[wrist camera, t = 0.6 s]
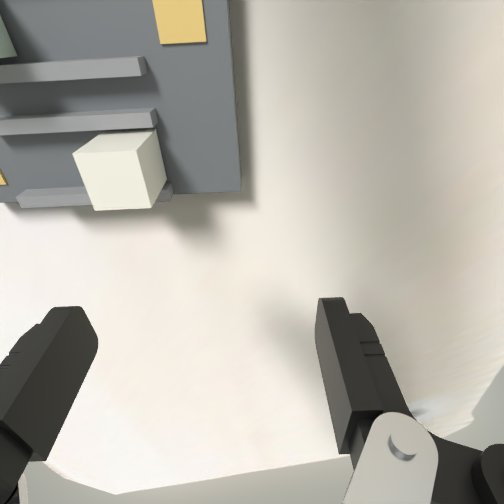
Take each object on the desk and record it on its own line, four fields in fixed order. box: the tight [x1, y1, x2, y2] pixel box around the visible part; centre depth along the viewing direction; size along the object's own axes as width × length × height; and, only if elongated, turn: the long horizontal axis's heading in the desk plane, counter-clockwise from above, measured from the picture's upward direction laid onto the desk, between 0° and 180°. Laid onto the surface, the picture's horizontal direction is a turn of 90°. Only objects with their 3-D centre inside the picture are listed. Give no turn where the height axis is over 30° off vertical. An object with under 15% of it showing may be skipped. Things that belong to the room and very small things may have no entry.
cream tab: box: [72, 129, 167, 211], centre depth 22 cm, size 4×4×5 cm
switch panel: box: [0, 0, 241, 208], centre depth 22 cm, size 16×24×4 cm, turn 93°
